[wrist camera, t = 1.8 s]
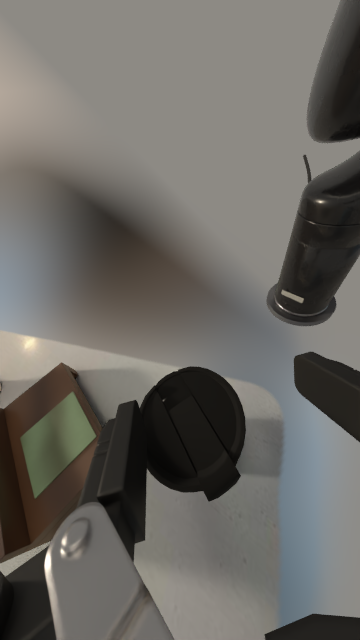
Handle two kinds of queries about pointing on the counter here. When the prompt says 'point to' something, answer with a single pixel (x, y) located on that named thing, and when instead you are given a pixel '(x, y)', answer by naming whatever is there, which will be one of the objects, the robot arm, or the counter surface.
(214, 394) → the travel mug
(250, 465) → the counter surface
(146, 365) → the counter surface
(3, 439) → the wooden coaster base
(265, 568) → the counter surface
